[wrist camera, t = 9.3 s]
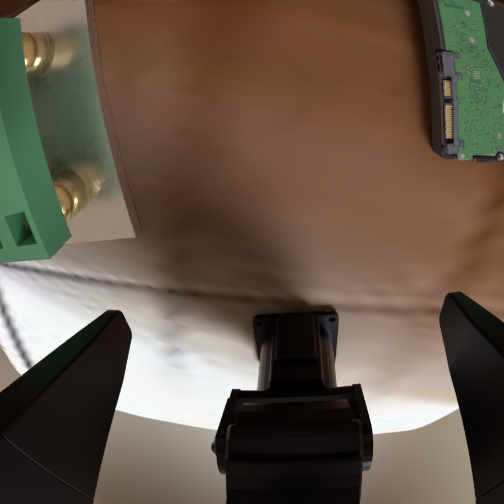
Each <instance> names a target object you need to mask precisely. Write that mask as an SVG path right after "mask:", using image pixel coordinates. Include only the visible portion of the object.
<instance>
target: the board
mask: <svg viewBox="0 0 504 504" xmlns="http://www.w3.org/2000/svg"><path fill="white" fill-rule="evenodd" d="M24 214H25V215H26V218H27V220H28V223H29V225H30V228H31V230H32V231H29V230H28V229H27V228H26V227H25V225H24V223H23V215H24ZM71 237H72V235H71V233H70V230H69V228H68V225H67V222H66V220H65V217H64V214H63V211H62V209H61V206H60V203H59V200H58V197H57V194H56V191H55V188H54V185H53V182H52V179H51V175H50V172H49V169H48V165H47V162H46V158H45V155H44V151H43V148H42V144H41V140H40V136H39V132H38V128H37V124H36V119H35V115H34V110H33V106H32V101H31V96H30V90H29V85H28V79H27V73H26V66H25V59H24V51H23V43H22V33H21V20H20V18H0V263H6V262H18V261H31V260H43V259H50V258H51V257H52V256H53V255H54V254H55V253H56V252H57V251H58V250H59V249H60V248H61V247H62V246H63V245H64V244H65V243H66V242H67V241H68V240H69V239H70V238H71Z"/></svg>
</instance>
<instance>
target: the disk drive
mask: <svg viewBox="0 0 504 504" xmlns="http://www.w3.org/2000/svg"><path fill="white" fill-rule="evenodd" d="M417 2H418V7H419V11H420V16H421V23H422V28H423V35H424V42H425V49H426V56H427V63H428V70H429V85H430V99H431V117H432V150H433V151H434V152H435V153H437V154H438V155H439V156H441V157H442V158H444V159H457V160H472V161H473V162H481V163H482V162H494V161H496V162H497V161H498V162H504V3H501V2H499V1H496V0H417Z"/></svg>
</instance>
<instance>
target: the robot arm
mask: <svg viewBox="0 0 504 504" xmlns="http://www.w3.org/2000/svg"><path fill="white" fill-rule="evenodd" d="M331 317H334V318H331ZM258 321H261V322H258ZM338 323H339V318H338V313H337V312H335V311H328V312H312V313H293V314H271V315H256V316H254V318H253V328H254V334H255V339H256V345H257V351H258V356H259V362H260V366H259V376H258V387H257V390H240V389H232V391H231V394H230V398H228V400H227V403H226V406H225V409H224V412H223V415H222V418H221V421H220V424H219V427H218V430H217V433H216V436H215V439H214V440H213V442H212V446H211V449H212V451H213V452H214V453H215V454H216V456H217V465H218V469H219V471H220V473H221V474H226V494H227V501H226V504H360V497H361V483H362V471H367V470H369V469H370V467H371V463H372V458H373V433H372V426H371V422H370V418H369V414H368V410H367V406H366V403H365V399H364V395H363V392H362V388H361V384H352V386H343V387H337V383H336V373H335V358H336V347H337V336H338ZM439 323H440V328H441V332H442V337H443V342H444V346H445V351H446V356H447V362H448V367H449V371H450V375H451V379H452V382H453V386H454V390H455V393H456V397H457V401H458V405H459V409H460V413H461V417H462V421H463V426H464V431H465V435H466V440H467V445H468V451H469V456H470V462H471V468H472V475H473V481H474V489H475V498H476V504H504V322H502V321H501V320H500V319H498V318H497V317H496V316H494V315H493V314H492V313H490V312H489V311H487V310H486V309H485V308H483V307H482V306H480V305H479V304H478V303H476V302H475V301H473V300H472V299H471V298H469V297H468V296H466V295H465V294H463V293H462V292H452V293H448V294H447V295H446V297H445V300H444V303H443V306H442V310H441V313H440V317H439ZM131 339H132V332H131V329H130V327H129V325H128V323H127V321H126V319H125V317H124V315H123V313H122V312H121V311H119V310H107V311H106V312H104V313H103V314H102V315H100V316H99V317H98V318H96V319H95V320H94V321H92V322H91V323H90V324H88V325H87V326H85V327H84V328H83V329H81V330H80V331H79V332H77V333H76V334H75V335H73V336H72V337H71V338H70V339H68V340H67V341H66V342H64V343H63V344H62V345H60V346H59V347H58V348H56V349H55V350H54V351H52V352H51V353H50V354H49V355H47V356H46V357H45V358H43V359H42V360H41V361H40V362H38V363H37V364H36V365H34V366H33V367H32V368H31V369H29V370H28V371H27V372H25V373H24V374H23V375H22V376H21V377H19V378H18V379H17V380H15V381H14V382H13V383H12V384H10V385H9V386H8V387H6V388H5V389H4V390H2V391H1V392H0V504H93V502H94V500H93V499H94V496H95V491H96V486H97V481H98V477H99V472H100V468H101V463H102V459H103V455H104V451H105V447H106V443H107V439H108V435H109V431H110V427H111V423H112V420H113V416H114V412H115V409H116V405H117V401H118V398H119V394H120V391H121V387H122V384H123V379H124V375H125V369H126V364H127V359H128V354H129V349H130V344H131Z"/></svg>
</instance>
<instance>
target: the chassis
mask: <svg viewBox="0 0 504 504" xmlns="http://www.w3.org/2000/svg"><path fill="white" fill-rule="evenodd" d="M15 18H20V20H21V33H22V43H23V51H24V59H25V66H26V73H27V79H28V85H29V90H30V96H31V101H32V106H33V110H34V115H35V119H36V124H37V128H38V132H39V136H40V140H41V144H42V148H43V151H44V155H45V158H46V162H47V165H48V169H49V172H50V175H51V179H52V182H53V185H54V188H55V191H56V194H57V197H58V200H59V203H60V206H61V209H62V211H63V214H64V217H65V220H66V222H67V225H68V228H69V230H70V233H71V235H72V237H71V238H70V239H69V240H68V241H67V242H66V243H65V244H74V243H84V242H94V241H104V240H115V239H125V238H136V237H137V235H138V234H139V233H140V231H141V228H140V224H139V221H138V218H137V214H136V211H135V207H134V204H133V201H132V197H131V193H130V190H129V186H128V182H127V179H126V175H125V171H124V167H123V163H122V159H121V155H120V151H119V147H118V143H117V139H116V134H115V130H114V125H113V121H112V116H111V112H110V107H109V102H108V97H107V92H106V86H105V81H104V75H103V69H102V63H101V57H100V51H99V44H98V37H97V29H96V21H95V13H94V3H93V0H40V1H39V2H37V3H36V4H34V5H33V6H31V7H29V8H28V9H26V10H25V11H23V12H22V13H20V14H19V15H18V16H16V17H15ZM23 223H24V225H25V227H26V228H27V229H28V230H29V231H32V230H31V228H30V225H29V223H28V220H27V218H26V215H25V214H24V215H23ZM65 244H64V245H65Z"/></svg>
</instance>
